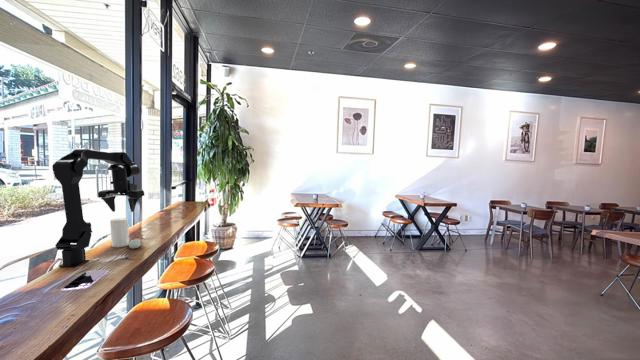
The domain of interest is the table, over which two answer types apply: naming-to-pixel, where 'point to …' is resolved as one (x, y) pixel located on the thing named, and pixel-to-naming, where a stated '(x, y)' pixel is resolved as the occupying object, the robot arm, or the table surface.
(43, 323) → the table surface
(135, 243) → the sage bowl
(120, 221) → the white rounded tall piece
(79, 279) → the mobile phone
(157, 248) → the table surface
